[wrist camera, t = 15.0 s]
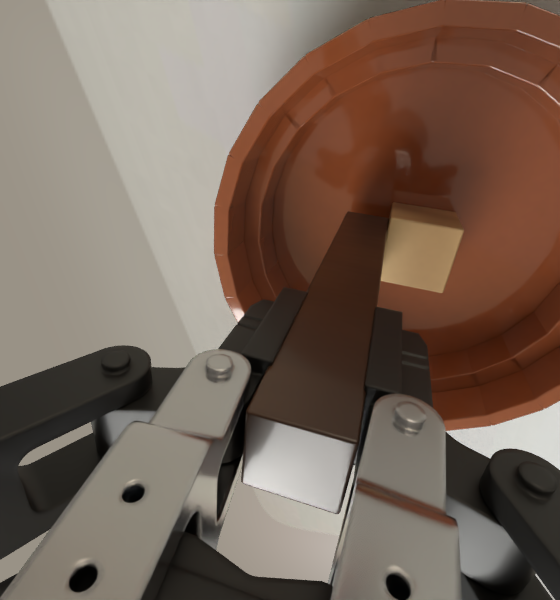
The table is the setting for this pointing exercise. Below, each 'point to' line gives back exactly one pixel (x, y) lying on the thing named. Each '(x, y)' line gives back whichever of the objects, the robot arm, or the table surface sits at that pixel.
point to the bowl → (419, 187)
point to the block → (420, 246)
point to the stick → (319, 377)
